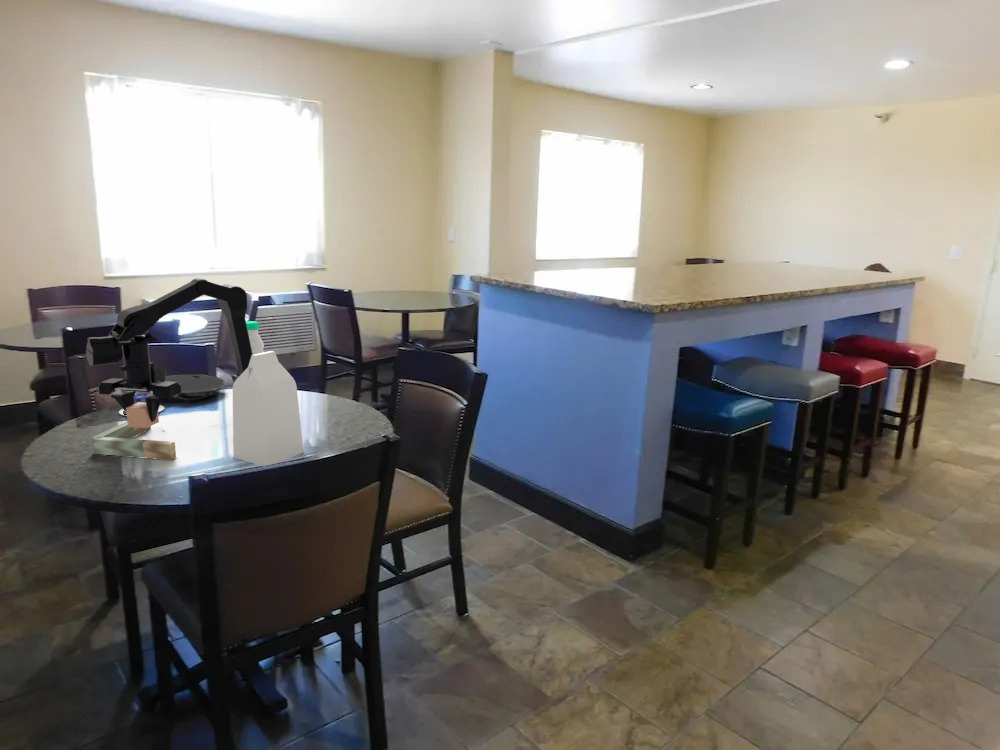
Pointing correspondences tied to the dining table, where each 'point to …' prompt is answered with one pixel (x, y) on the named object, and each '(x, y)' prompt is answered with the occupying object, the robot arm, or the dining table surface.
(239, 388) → the milk
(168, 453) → the arena
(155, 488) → the dining table surface
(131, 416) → the cube
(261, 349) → the water bottle
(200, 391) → the board
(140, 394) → the pudding
